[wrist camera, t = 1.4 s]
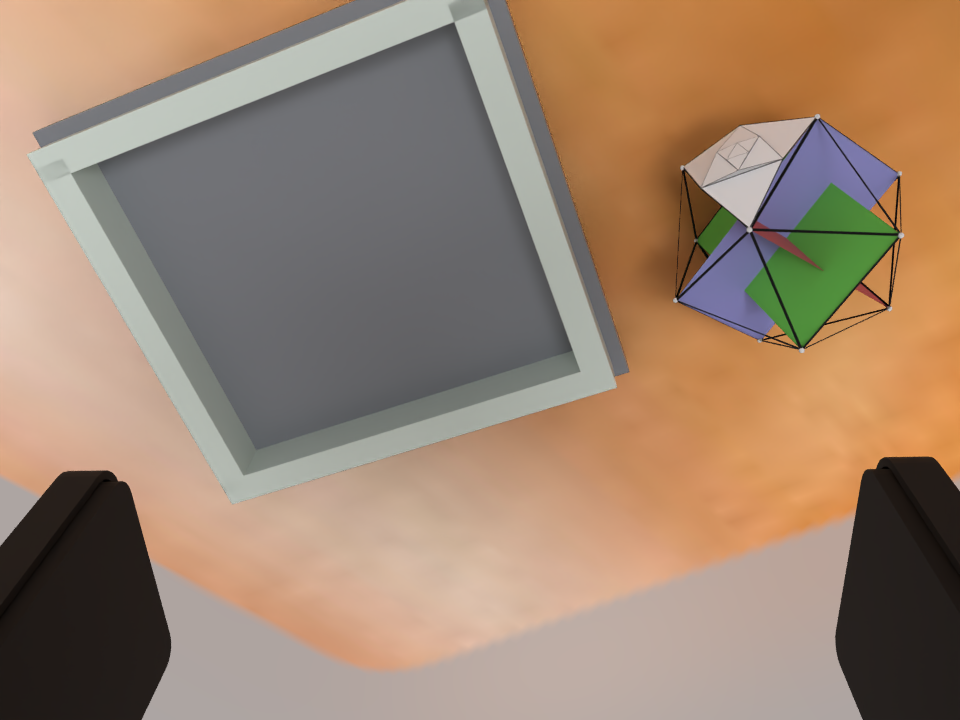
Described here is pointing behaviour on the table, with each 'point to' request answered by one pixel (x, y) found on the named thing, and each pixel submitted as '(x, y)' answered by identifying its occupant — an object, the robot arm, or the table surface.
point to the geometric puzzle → (788, 228)
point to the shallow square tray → (341, 240)
